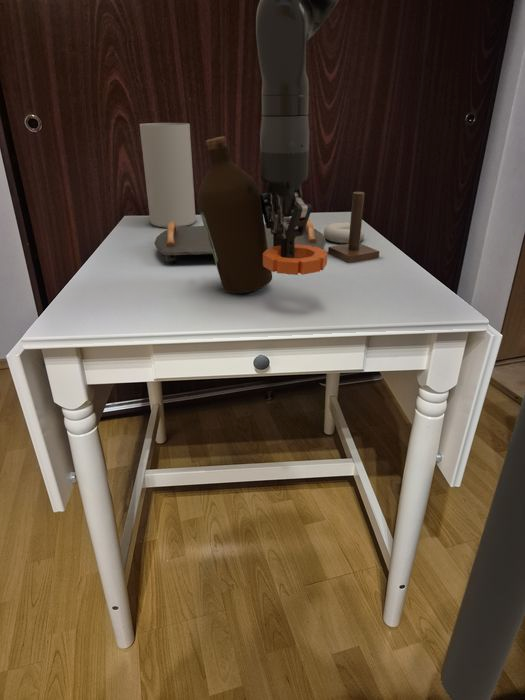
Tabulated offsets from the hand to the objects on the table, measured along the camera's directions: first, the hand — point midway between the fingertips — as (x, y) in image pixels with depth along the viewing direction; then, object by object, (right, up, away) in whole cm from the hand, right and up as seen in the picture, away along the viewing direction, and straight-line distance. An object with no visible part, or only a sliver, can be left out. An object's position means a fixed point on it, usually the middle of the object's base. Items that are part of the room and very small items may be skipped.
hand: (283, 257), depth 82 cm
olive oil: (-6, -3, +7) cm, 10 cm away
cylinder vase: (-28, +20, +52) cm, 63 cm away
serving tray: (-9, +7, +30) cm, 32 cm away
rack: (+17, +5, +25) cm, 30 cm away
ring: (+2, -2, -3) cm, 4 cm away
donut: (+16, +11, +37) cm, 42 cm away
